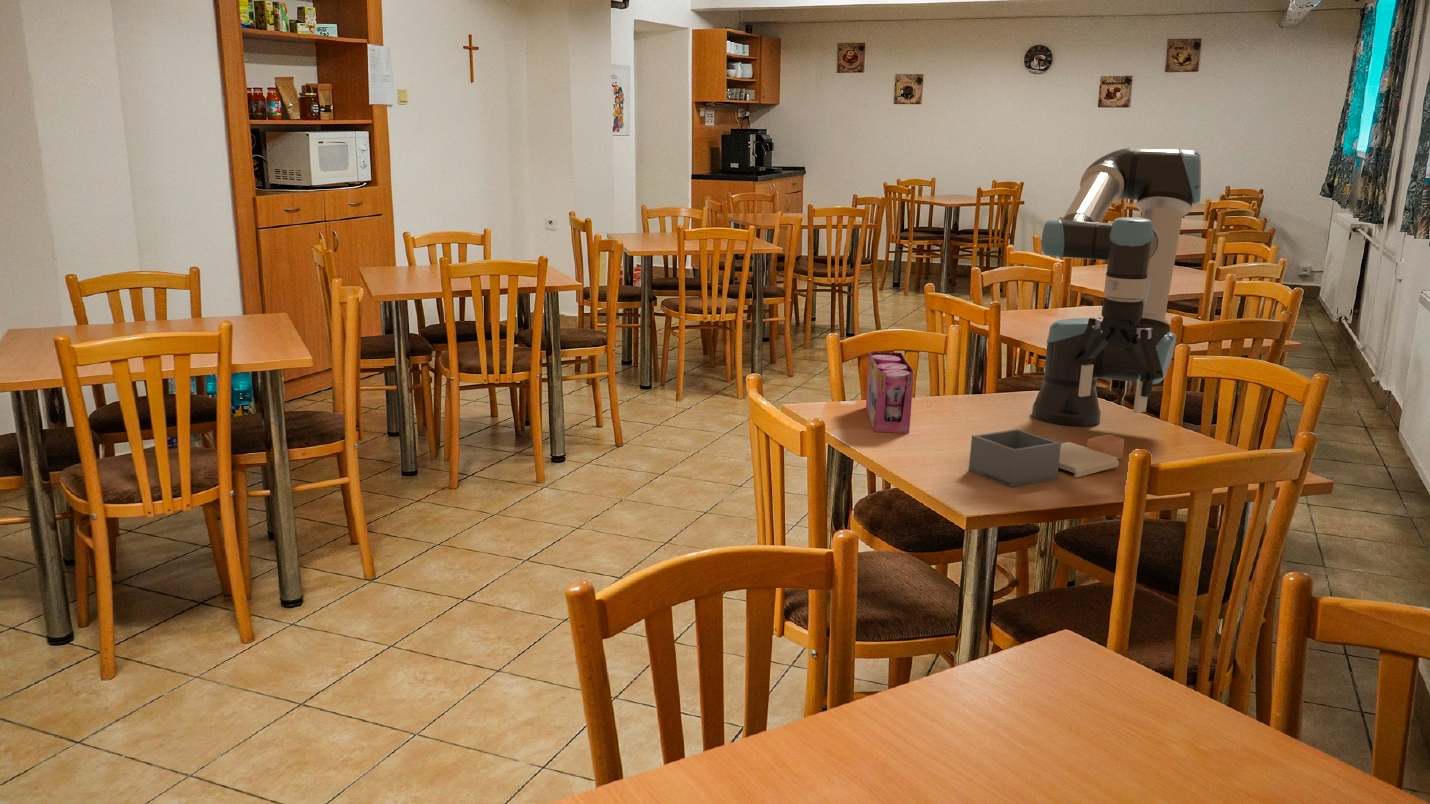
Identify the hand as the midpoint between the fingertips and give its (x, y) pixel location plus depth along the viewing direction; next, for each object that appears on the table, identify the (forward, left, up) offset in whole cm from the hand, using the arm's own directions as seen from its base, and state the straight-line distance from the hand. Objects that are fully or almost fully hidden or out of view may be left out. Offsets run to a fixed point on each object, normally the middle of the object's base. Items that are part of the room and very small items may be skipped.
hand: (1111, 403), depth 211 cm
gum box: (+22, -43, -12) cm, 49 cm away
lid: (+7, 0, -12) cm, 13 cm away
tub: (+26, 0, -11) cm, 28 cm away
